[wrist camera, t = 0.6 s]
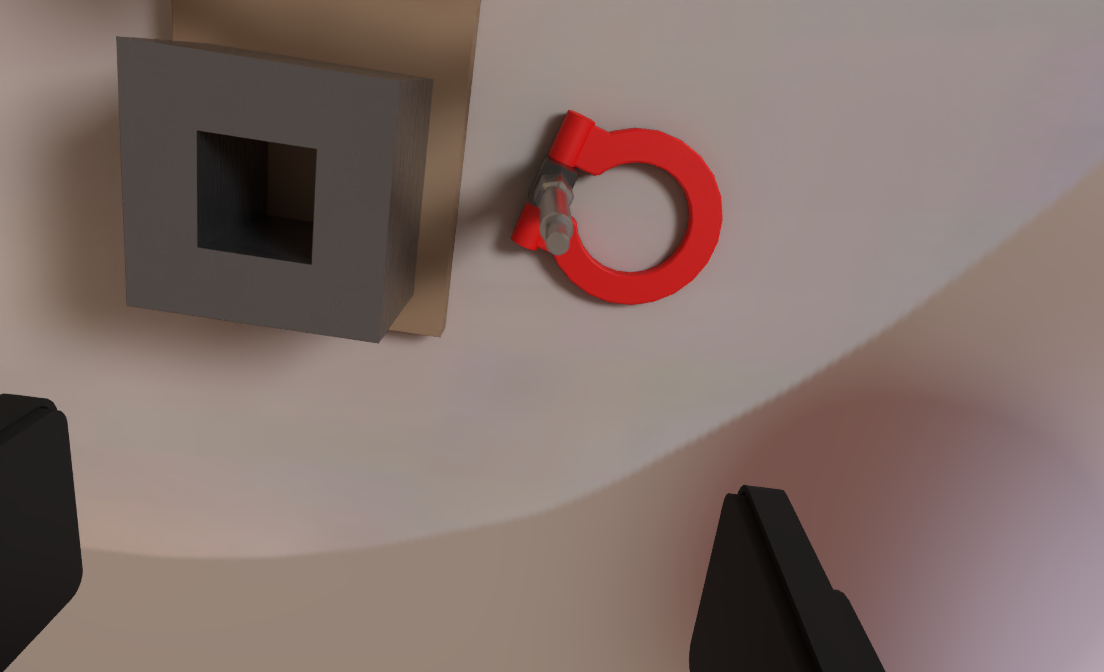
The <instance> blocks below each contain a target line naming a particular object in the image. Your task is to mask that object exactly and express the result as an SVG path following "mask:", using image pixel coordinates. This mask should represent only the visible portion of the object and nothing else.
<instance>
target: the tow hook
mask: <svg viewBox="0 0 1104 672" xmlns="http://www.w3.org/2000/svg"><path fill="white" fill-rule="evenodd" d="M633 162H638V163H646V164H652V165H654V166H657V167H659V168H662V169H664V170H666V171H667V172H668V173H669V174H671V175H672V176H673V177H674V178H675V179H676V180H677V181H678V183H679V184H680V186H681V187H682V188H683V191H684V193H685V196H686V199H687V202H688V212H689V220H688V225H687V230H686V233H685V235H684V237H683V239H682V242H681V244H680V245H679V247H678V248H677V249H676V250H675V251H674V253H673V254H672V255H671V256H670V257H669V258H667V259H666V260H665V261H663V262H662V263H661V264H659V265H657V266H655V267H652V268H650V269H647V270H645V271H637V272H623V271H616V270H614V269H611V268H608V267H606V266H603V265H602V264H601V263H599V262H598V261H597V260H595V259H594V258H593V257H592V256H591V255H590V254H589V253H588V251H587V250H586V249H585V247H584V246H583V244H582V242H581V239H580V237H579V234H578V229H577V222H576V220H575V219H574V218H573V217H572V216H571V211H570V205H571V203H572V200H573V198H574V196H573V191H572V189H573V186H574V184H575V182H576V180H577V178H578V173H577V170H576V168H575V167H577V168H579V169H581V170H583V171H585V172H588V173H590V174H592V175H594V176H595V175H601V174H602V173H603V172H605V171H606V170H608V169H611V168H613V167H615V166H618V165H620V164H626V163H633ZM721 224H722V203H721V195H720V192H719V189H718V186H717V183H716V180H715V177H714V175H713V173H712V172H711V170H710V169H709V168H708V166H707V165H706V163H705V162H704V160H703V159H702V157H701V156H700V155H699V154H697V153H696V152H695V151H694V150H693V149H691V148H690V147H689V146H688V145H686V144H685V143H684V142H683V141H681V140H679V139H677V138H675V137H672V136H670V135H668V134H665V133H663V132H661V131H658V130H650V129H642V128H629V129H622V130H615V131H611V132H607V131H605V130H603V129H601V128H599V127H597V126H595V122H594V121H592V120H591V119H589V118H587V117H585V116H583V115H581V114H579V113H577V112H574V111H572V110H568V112H567V114H566V116H565V119H564V121H563V123H562V125H561V127H560V130H559V132H558V134H557V136H556V138H555V141H554V143H553V145H552V147H551V150H550V152H549V154H548V155H546V156H545V158H544V160H543V162H542V165H541V167H540V169H539V171H538V173H537V176H536V178H535V180H534V182H533V185H532V187H531V189H530V191H529V196H528V201H527V203H526V205H525V207H524V209H523V212H522V214H521V216H520V218H519V221H518V223H517V225H516V227H515V229H514V232H513V234H512V236H511V239H512V240H513V241H514V242H515V243H517V244H518V245H520V246H522V247H524V248H527V249H530V250H537V248H540V249H543V250H545V251H547V252H549V253H551V254H553V256H554V258H555V260H556V263H557V265H558V266H559V267H560V268H561V270H562V271H563V272H564V273H565V275H566V276H567V277H568V278H569V280H570V281H571V282H572V283H574V284H575V285H577V286H578V287H579V288H581V289H582V290H583V291H585V292H586V293H588V294H589V295H592V296H594V297H597V298H599V299H602V300H605V301H607V302H611V303H620V304H629V305H633V304H641V303H648V302H654V301H657V300H659V299H662V298H664V297H667V296H669V295H672V294H674V293H676V292H677V291H678V290H680V289H681V288H683V287H684V286H685V285H687V284H688V283H690V282H691V281H692V280H693V279H694V278H695V277H696V276H697V275H698V274H699V272H700V271H701V270H702V269H703V268H704V267H705V265H706V264H707V263H708V261H709V259H710V257H711V255H712V253H713V251H714V249H715V247H716V245H717V243H718V239H719V234H720V229H721Z"/></svg>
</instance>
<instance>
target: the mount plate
mask: <svg viewBox="0 0 1104 672" xmlns="http://www.w3.org/2000/svg"><path fill="white" fill-rule="evenodd" d="M480 2H481V0H172V22H173V41H186V42H199V43H210V44H216V45H222V46H229V47H235V48H241V49H248V50H254V51H260V52H267V53H273V54H279V55H286V56H292V57H298V58H304V59H311V60H317V61H323V62H330V63H336V64H342V65H349V66H355V67H361V68H368V69H374V70H380V71H387V72H393V73H399V74H405V75H412V76H418V77H424V78H431V79H434V80H433V91H432V102H431V113H430V123H429V134H428V145H427V156H426V166H425V177H424V188H423V199H422V209H421V220H420V231H419V242H418V252H417V263H416V274H415V285H414V294H413V296H412V297H411V299H410V300H409V301H408V303H407V304H406V306H405V307H404V309H403V310H402V311H401V313H400V314H399V316H398V317H397V318H396V320H395V321H394V323H393V324H392V325H391V327H390V328H389V330H394V331H401V332H408V333H414V334H421V335H428V336H434V337H441V335H442V333H443V331H444V329H445V323H446V314H447V305H448V296H449V286H450V277H451V268H452V259H453V250H454V241H455V231H456V222H457V213H458V204H459V195H460V186H461V176H462V167H463V158H464V149H465V140H466V131H467V121H468V112H469V103H470V94H471V85H472V76H473V66H474V57H475V48H476V39H477V30H478V21H479V11H480ZM316 160H317V149H314V148H307V147H301V146H294V145H288V144H282V143H275V142H269V146H268V186H267V215H272V216H278V217H285V218H291V219H298V220H304V221H311V222H314V204H315V182H316Z"/></svg>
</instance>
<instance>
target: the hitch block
mask: <svg viewBox="0 0 1104 672" xmlns="http://www.w3.org/2000/svg"><path fill="white" fill-rule="evenodd" d="M116 40H117V65H118V91H119V117H120V143H121V169H122V195H123V221H124V247H125V273H126V299H127V306H132V307H139V308H146V309H152V310H159V311H166V312H172V313H179V314H186V315H192V316H199V317H206V318H212V319H219V320H226V321H233V322H239V323H246V324H253V325H259V326H266V327H273V328H279V329H286V330H293V331H299V332H306V333H313V334H320V335H326V336H333V337H340V338H346V339H353V340H360V341H366V342H373V343H379V342H380V341H381V339H382V338H383V337H384V335H385V334H386V332H387V331H388V330H389V328H390V327H391V325H392V324H393V323H394V321H395V320H396V318H397V317H398V316H399V314H400V313H401V311H402V310H403V309H404V307H405V306H406V304H407V303H408V301H409V300H410V299H411V297H412V296H413V294H414V285H415V274H416V263H417V252H418V242H419V231H420V220H421V209H422V199H423V188H424V177H425V166H426V156H427V145H428V134H429V123H430V113H431V102H432V91H433V80H434V79H431V78H424V77H418V76H412V75H405V74H399V73H393V72H387V71H380V70H374V69H368V68H361V67H355V66H349V65H342V64H336V63H330V62H323V61H317V60H311V59H304V58H298V57H292V56H286V55H279V54H273V53H267V52H260V51H254V50H248V49H241V48H235V47H229V46H222V45H216V44H210V43H199V42H186V41H172V40H158V39H145V38H131V37H118V36H116ZM269 142H275V143H282V144H288V145H294V146H301V147H307V148H314V149H317V160H316V182H315V204H314V222H311V221H304V220H298V219H291V218H285V217H278V216H272V215H267V186H268V146H269Z"/></svg>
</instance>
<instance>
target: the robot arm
mask: <svg viewBox="0 0 1104 672" xmlns="http://www.w3.org/2000/svg"><path fill="white" fill-rule="evenodd" d="M82 572H83V568H82V559H81V548H80V539H79V529H78V519H77V510H76V500H75V491H74V481H73V471H72V462H71V452H70V442H69V433H68V423H67V419H66V416H65V415H64V413H63V412H61V411H59V410H57V408H56V406H55V405H54V403H53V402H52V401H51V400H49V399H45V398H37V397H29V396H21V395H13V394H1V395H0V672H3V671H4V670H5V669H6V668H7V667H8V666H9V665H10V664H11V663H12V662H13V661H14V660H15V659H16V658H17V656H18V655H19V654H20V653H21V652H22V651H23V650H24V649H25V648H26V647H27V646H28V645H29V644H30V642H31V641H32V640H33V639H34V638H35V637H36V636H37V635H38V634H39V633H40V632H41V631H42V630H43V629H44V628H45V627H46V626H47V625H48V623H49V622H50V621H51V620H52V619H53V618H54V617H55V616H56V615H57V614H58V613H59V612H60V611H61V610H62V609H63V608H64V606H65V605H66V604H67V603H68V602H69V601H70V600H71V599H72V597H73V596H74V595H75V594H76V592H77V590H78V588H79V585H80V583H81V579H82ZM689 668H690V672H885V670H884V668H883V666H882V664H881V662H880V660H879V658H878V656H877V654H876V652H875V650H874V648H873V647H872V644H871V642H870V640H869V639H868V637H867V635H866V633H865V631H864V629H863V627H862V625H861V623H860V621H859V619H858V617H857V615H856V613H855V611H854V609H853V607H852V606H851V603H850V601H849V600H848V599H847V597H846V596H845V594H844V593H842V592H840V591H839V590H833V588H832V586H831V584H830V582H829V580H828V578H827V576H826V574H825V572H824V570H823V568H822V566H821V564H820V562H819V560H818V558H817V555H816V553H815V551H814V549H813V547H812V545H811V543H810V541H809V539H808V537H807V535H806V533H805V531H804V529H803V527H802V525H801V523H800V521H799V519H798V517H797V515H796V513H795V511H794V509H793V507H792V505H791V503H790V501H789V498H788V496H787V495H786V493H785V492H784V490H780V489H772V488H764V487H756V486H748V485H743V486H742V487H741V488H740V490H739V492H738V494H730V493H728V494H727V495H726V497H725V499H724V502H723V506H722V510H721V515H720V519H719V524H718V528H717V532H716V536H715V540H714V545H713V549H712V553H711V558H710V562H709V567H708V571H707V575H706V579H705V584H704V588H703V592H702V596H701V601H700V605H699V610H698V614H697V618H696V622H695V627H694V631H693V635H692V640H691V645H690V652H689Z"/></svg>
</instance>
